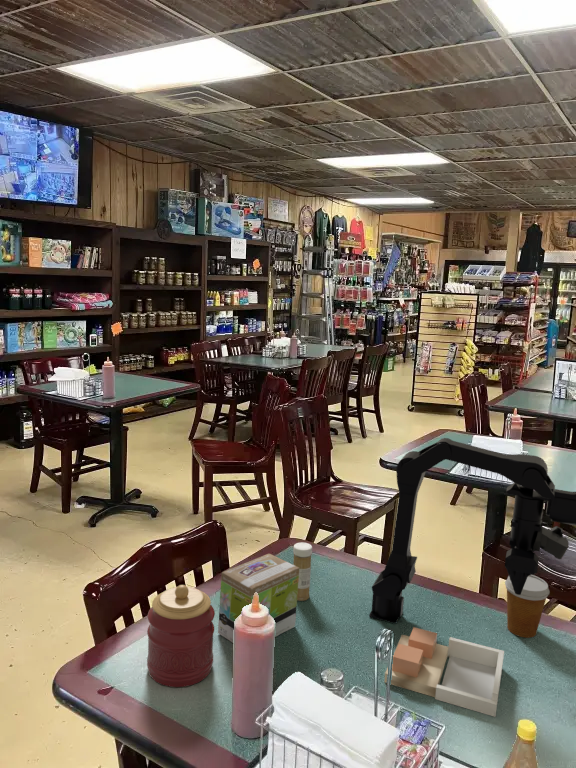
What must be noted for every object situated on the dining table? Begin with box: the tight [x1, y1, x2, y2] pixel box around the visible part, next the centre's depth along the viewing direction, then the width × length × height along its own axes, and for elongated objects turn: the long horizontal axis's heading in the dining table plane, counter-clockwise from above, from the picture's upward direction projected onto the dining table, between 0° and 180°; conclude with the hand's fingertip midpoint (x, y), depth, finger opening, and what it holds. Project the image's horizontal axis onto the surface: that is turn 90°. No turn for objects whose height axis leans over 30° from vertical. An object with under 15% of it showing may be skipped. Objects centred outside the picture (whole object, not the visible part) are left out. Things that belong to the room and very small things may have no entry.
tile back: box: [408, 626, 438, 659], centre depth 132 cm, size 5×5×3 cm
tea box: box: [217, 553, 299, 644], centre depth 139 cm, size 15×10×15 cm, turn 138°
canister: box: [146, 584, 216, 688], centre depth 124 cm, size 13×13×18 cm
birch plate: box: [384, 634, 448, 698], centre depth 129 cm, size 10×15×2 cm, turn 157°
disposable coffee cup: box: [504, 574, 551, 639], centre depth 144 cm, size 10×10×12 cm
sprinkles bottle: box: [292, 542, 313, 602], centre depth 154 cm, size 5×5×13 cm
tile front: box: [392, 643, 423, 677], centre depth 126 cm, size 5×5×3 cm
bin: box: [434, 636, 505, 718], centre depth 125 cm, size 11×16×4 cm
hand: (519, 584), depth 136 cm, fingers open, 9 cm apart
